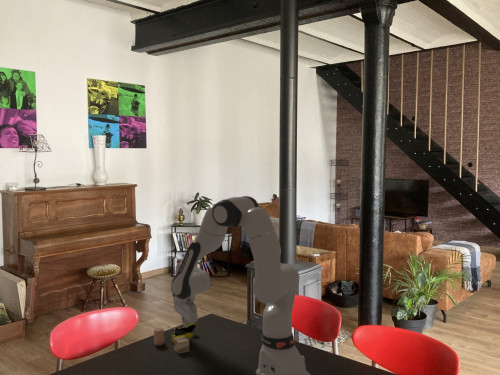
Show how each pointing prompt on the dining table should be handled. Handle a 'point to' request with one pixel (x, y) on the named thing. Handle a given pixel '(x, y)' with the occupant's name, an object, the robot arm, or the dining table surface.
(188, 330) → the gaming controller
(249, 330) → the dining table surface
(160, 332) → the terracotta cylinder
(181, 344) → the maple block
